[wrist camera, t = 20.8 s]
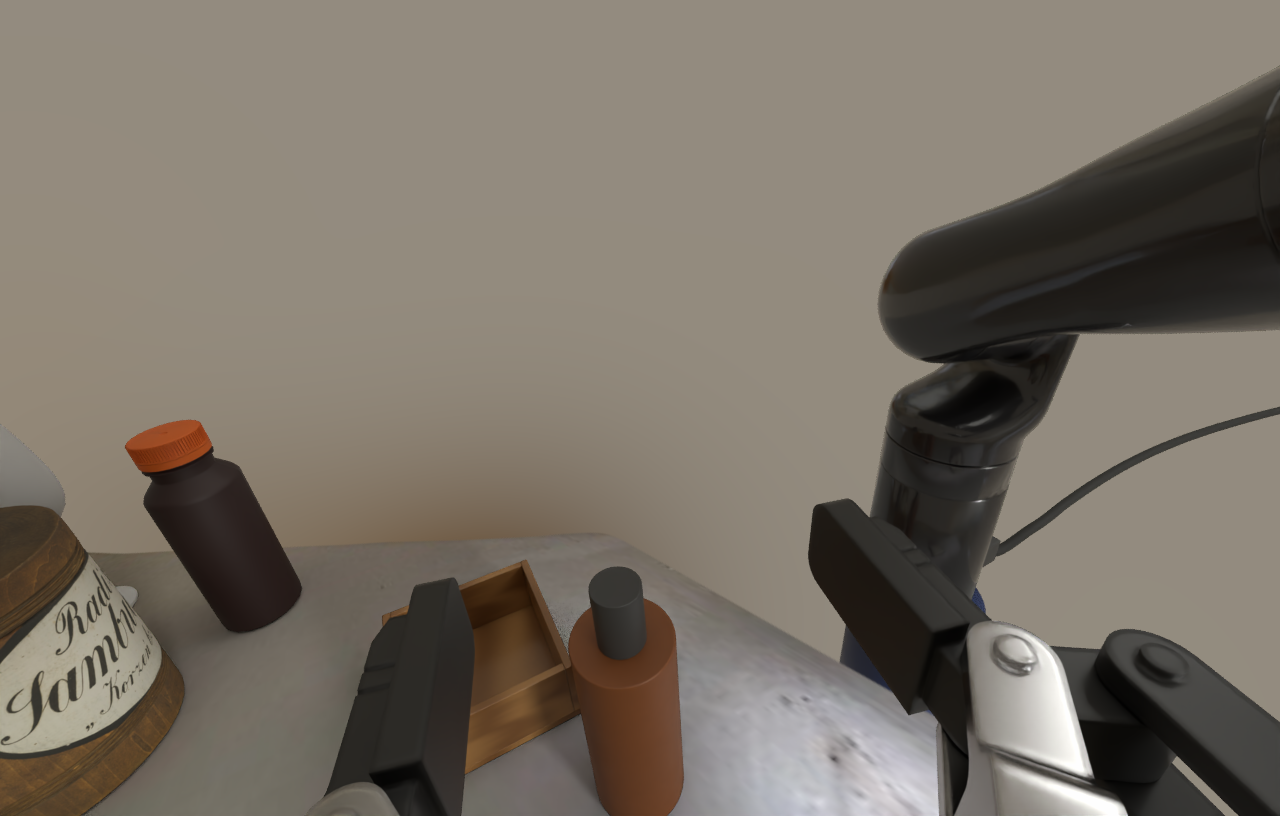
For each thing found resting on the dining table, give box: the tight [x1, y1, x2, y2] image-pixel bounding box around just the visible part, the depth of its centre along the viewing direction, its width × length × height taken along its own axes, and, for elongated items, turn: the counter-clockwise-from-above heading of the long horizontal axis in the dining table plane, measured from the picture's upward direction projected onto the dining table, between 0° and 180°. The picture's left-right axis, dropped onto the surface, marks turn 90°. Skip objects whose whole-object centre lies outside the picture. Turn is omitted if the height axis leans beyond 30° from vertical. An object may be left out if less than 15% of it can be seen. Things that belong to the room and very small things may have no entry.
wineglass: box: [0, 424, 138, 607], centre depth 46 cm, size 8×8×21 cm
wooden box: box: [382, 560, 581, 774], centre depth 40 cm, size 12×12×6 cm
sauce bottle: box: [568, 567, 684, 816], centre depth 31 cm, size 6×6×18 cm
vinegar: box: [125, 420, 302, 632], centre depth 46 cm, size 7×7×20 cm
